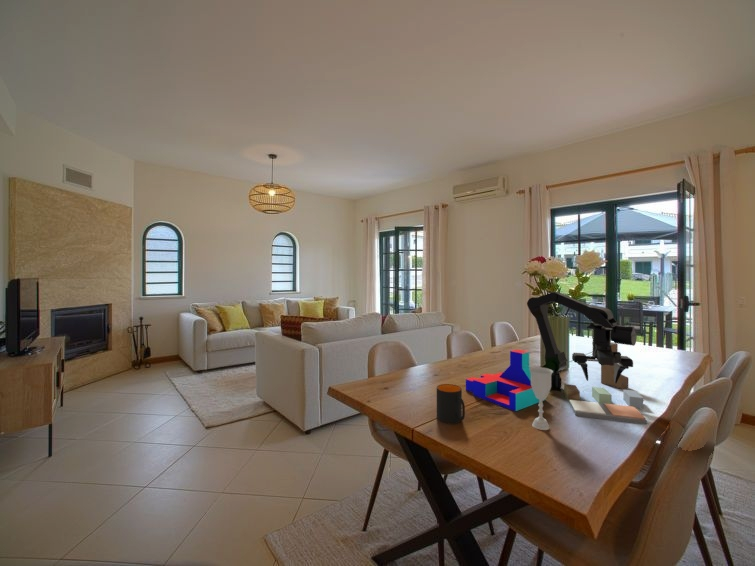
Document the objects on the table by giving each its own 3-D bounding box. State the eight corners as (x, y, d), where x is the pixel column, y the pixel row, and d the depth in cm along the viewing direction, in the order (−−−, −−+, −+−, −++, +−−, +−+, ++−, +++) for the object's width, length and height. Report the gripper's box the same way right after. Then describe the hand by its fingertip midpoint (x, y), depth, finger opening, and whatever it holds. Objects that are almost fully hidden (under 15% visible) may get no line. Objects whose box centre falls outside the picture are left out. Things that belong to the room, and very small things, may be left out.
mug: (453, 430, 104) (453, 397, 104) (431, 416, 115) (431, 386, 114) (474, 425, 107) (474, 393, 107) (451, 411, 118) (451, 382, 118)
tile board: (575, 415, 114) (575, 410, 114) (569, 402, 125) (569, 398, 125) (646, 424, 107) (646, 419, 107) (633, 410, 118) (633, 405, 118)
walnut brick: (567, 400, 128) (567, 390, 128) (564, 393, 136) (564, 384, 136) (579, 402, 127) (579, 391, 127) (575, 395, 134) (575, 385, 134)
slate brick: (629, 407, 121) (629, 396, 121) (623, 399, 129) (623, 389, 128) (643, 409, 120) (643, 398, 120) (635, 401, 127) (636, 390, 127)
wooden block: (628, 387, 141) (629, 345, 141) (622, 389, 140) (622, 346, 139) (607, 381, 150) (607, 341, 149) (600, 383, 148) (600, 342, 148)
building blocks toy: (491, 383, 149) (491, 343, 149) (545, 400, 129) (545, 353, 128) (461, 391, 139) (461, 348, 139) (515, 412, 118) (515, 360, 118)
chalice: (532, 419, 111) (532, 365, 111) (555, 425, 107) (555, 369, 106) (526, 427, 105) (526, 370, 105) (549, 433, 101) (550, 374, 101)
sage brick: (599, 404, 124) (599, 393, 124) (591, 396, 132) (592, 386, 132) (611, 405, 123) (611, 394, 123) (603, 397, 131) (603, 387, 131)
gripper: (578, 343, 123) (577, 385, 123) (639, 347, 116) (638, 391, 117) (572, 338, 133) (571, 377, 134) (628, 341, 127) (627, 382, 127)
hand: (601, 381), depth 128 cm, fingers open, 9 cm apart
